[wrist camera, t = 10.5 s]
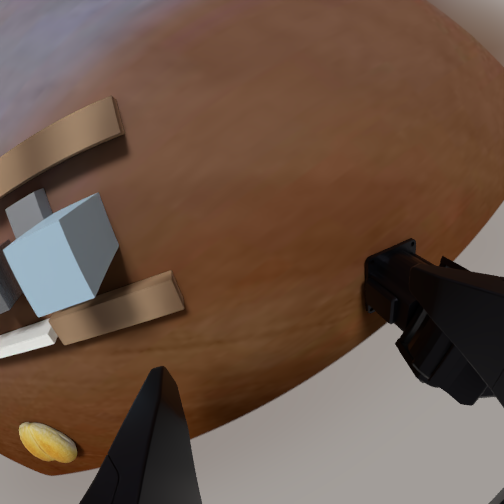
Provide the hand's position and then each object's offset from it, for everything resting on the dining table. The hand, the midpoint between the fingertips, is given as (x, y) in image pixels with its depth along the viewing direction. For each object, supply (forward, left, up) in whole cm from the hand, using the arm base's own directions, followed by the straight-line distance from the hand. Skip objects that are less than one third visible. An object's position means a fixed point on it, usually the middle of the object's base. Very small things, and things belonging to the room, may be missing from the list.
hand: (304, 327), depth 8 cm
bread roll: (+33, +20, -12) cm, 41 cm away
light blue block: (+11, -3, -12) cm, 17 cm away
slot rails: (+10, -3, -12) cm, 16 cm away
